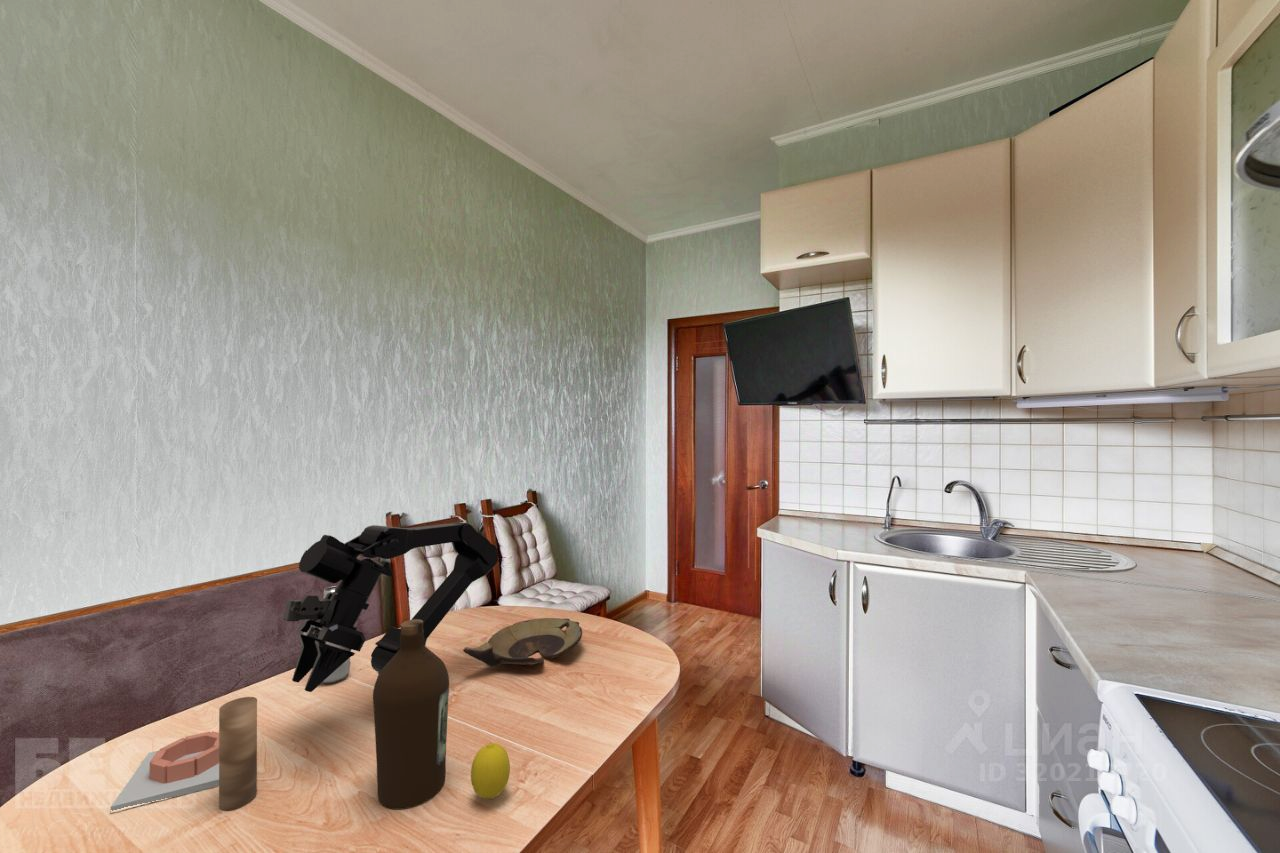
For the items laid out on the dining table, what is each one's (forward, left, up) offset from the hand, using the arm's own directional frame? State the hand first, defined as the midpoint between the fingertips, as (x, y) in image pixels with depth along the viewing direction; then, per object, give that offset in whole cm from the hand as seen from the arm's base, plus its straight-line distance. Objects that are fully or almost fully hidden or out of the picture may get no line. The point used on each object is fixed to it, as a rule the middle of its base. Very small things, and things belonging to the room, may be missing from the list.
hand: (301, 686), depth 84 cm
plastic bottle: (-3, -31, -13) cm, 34 cm away
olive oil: (-16, +15, -13) cm, 25 cm away
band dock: (+16, -7, -13) cm, 21 cm away
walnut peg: (+7, +6, -13) cm, 16 cm away
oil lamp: (-43, -22, -13) cm, 50 cm away
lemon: (-26, +23, -13) cm, 37 cm away
